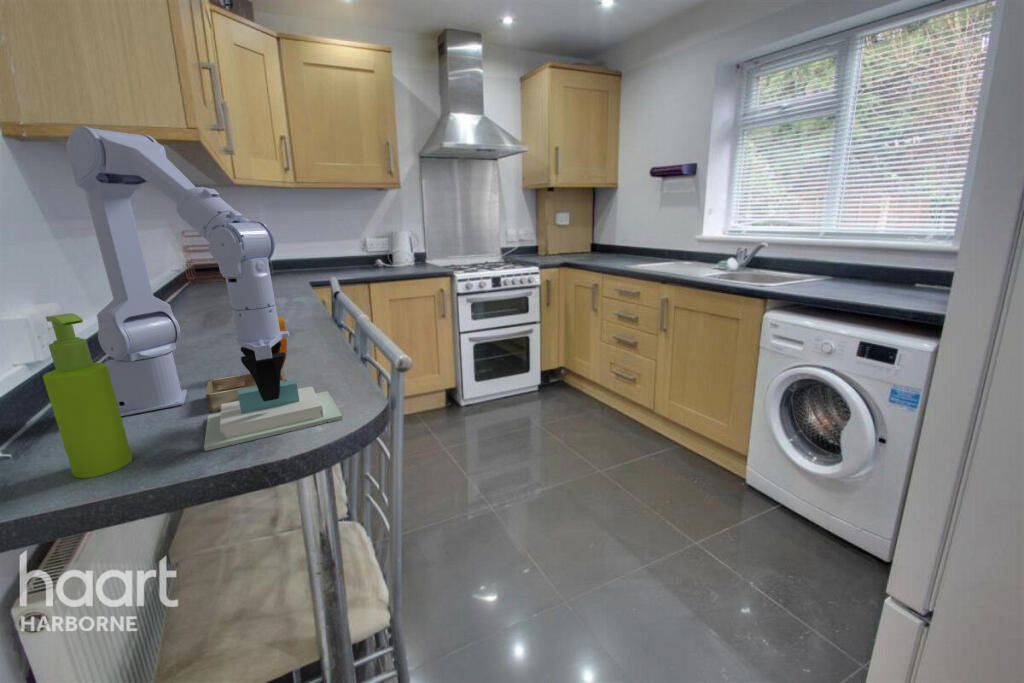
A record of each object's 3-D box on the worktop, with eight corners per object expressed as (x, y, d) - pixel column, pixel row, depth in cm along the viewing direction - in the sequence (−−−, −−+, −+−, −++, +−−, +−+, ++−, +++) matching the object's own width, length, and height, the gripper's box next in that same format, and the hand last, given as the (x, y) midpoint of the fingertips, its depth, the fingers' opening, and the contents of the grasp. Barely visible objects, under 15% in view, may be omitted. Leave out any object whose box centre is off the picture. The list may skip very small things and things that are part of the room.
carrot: (286, 373, 96) (273, 301, 92) (262, 374, 96) (248, 301, 92) (297, 366, 101) (286, 296, 97) (274, 366, 101) (262, 297, 97)
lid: (222, 439, 66) (215, 407, 64) (223, 414, 74) (217, 386, 73) (323, 416, 72) (319, 387, 71) (313, 396, 81) (309, 369, 79)
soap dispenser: (86, 485, 56) (36, 322, 51) (66, 471, 60) (17, 317, 55) (143, 463, 61) (103, 312, 56) (121, 451, 65) (81, 308, 60)
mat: (204, 451, 64) (204, 447, 63) (208, 418, 74) (208, 415, 74) (342, 419, 72) (342, 415, 72) (328, 394, 83) (327, 391, 83)
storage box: (209, 412, 77) (205, 395, 76) (211, 396, 85) (208, 380, 84) (289, 396, 83) (286, 380, 82) (284, 382, 90) (282, 367, 90)
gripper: (288, 310, 65) (304, 402, 68) (279, 297, 77) (293, 376, 80) (229, 317, 61) (249, 413, 65) (230, 302, 73) (246, 384, 77)
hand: (270, 393), depth 72 cm, fingers open, 5 cm apart
